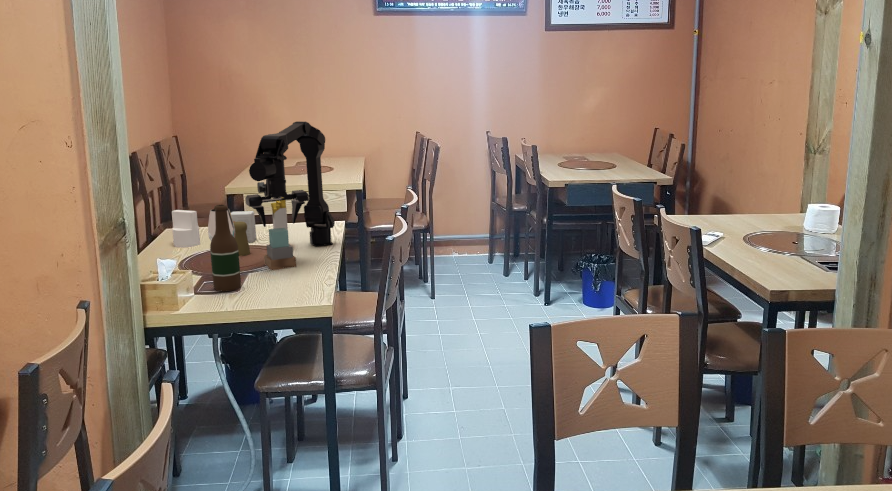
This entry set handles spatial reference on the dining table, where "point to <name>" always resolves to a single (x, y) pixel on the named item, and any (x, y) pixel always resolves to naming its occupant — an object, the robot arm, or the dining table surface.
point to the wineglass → (213, 224)
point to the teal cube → (278, 237)
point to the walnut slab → (280, 263)
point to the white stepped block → (185, 228)
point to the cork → (241, 238)
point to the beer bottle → (224, 254)
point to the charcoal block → (280, 252)
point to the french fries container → (279, 214)
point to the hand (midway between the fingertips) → (279, 225)
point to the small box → (248, 219)
